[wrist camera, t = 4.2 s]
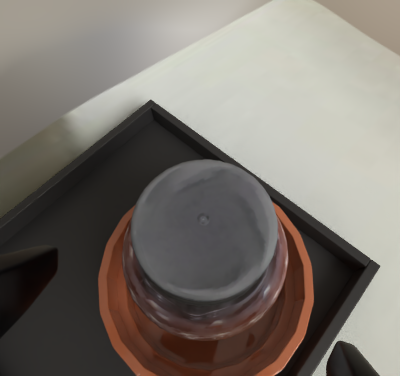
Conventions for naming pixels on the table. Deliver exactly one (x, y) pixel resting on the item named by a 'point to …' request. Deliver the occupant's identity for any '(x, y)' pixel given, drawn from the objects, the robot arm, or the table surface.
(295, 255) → the bowl
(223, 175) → the supplement bottle
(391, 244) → the table surface
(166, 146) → the tray
